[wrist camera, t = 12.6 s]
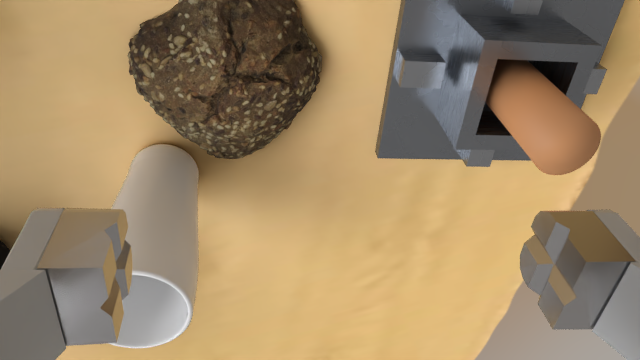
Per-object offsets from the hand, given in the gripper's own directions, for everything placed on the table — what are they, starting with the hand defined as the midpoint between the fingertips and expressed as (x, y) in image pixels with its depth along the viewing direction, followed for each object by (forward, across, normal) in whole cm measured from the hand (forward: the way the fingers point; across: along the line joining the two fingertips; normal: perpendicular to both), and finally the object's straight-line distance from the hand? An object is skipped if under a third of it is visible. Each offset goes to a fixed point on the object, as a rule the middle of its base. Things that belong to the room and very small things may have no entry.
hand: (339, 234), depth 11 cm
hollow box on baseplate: (+29, -17, +8) cm, 35 cm away
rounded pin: (+28, -17, +8) cm, 34 cm away
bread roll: (+30, +3, +9) cm, 31 cm away
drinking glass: (+29, +8, +18) cm, 35 cm away
